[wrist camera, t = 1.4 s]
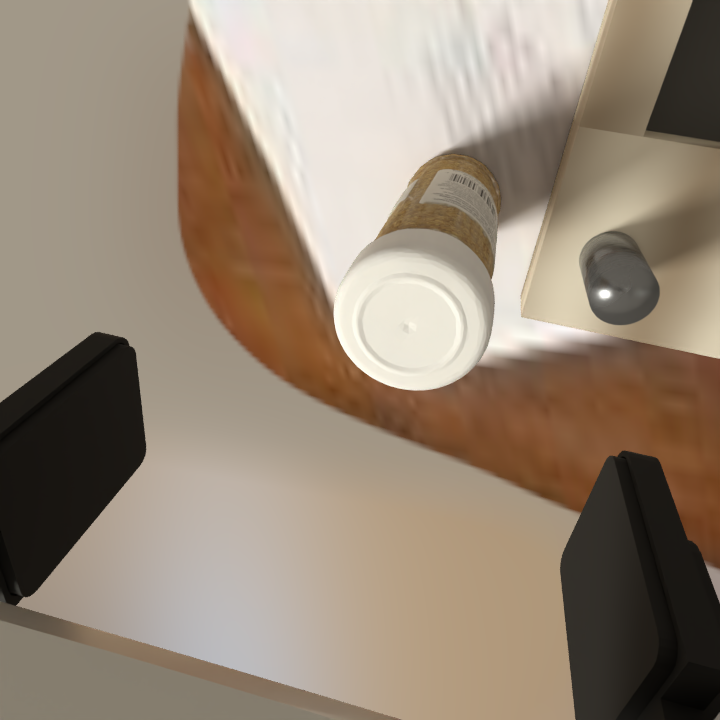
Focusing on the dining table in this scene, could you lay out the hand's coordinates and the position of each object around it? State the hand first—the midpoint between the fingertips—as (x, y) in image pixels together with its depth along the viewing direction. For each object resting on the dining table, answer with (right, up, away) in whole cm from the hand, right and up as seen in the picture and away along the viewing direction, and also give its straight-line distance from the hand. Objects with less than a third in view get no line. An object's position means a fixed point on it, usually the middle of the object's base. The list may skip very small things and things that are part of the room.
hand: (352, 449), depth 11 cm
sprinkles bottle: (+5, +9, +16) cm, 19 cm away
